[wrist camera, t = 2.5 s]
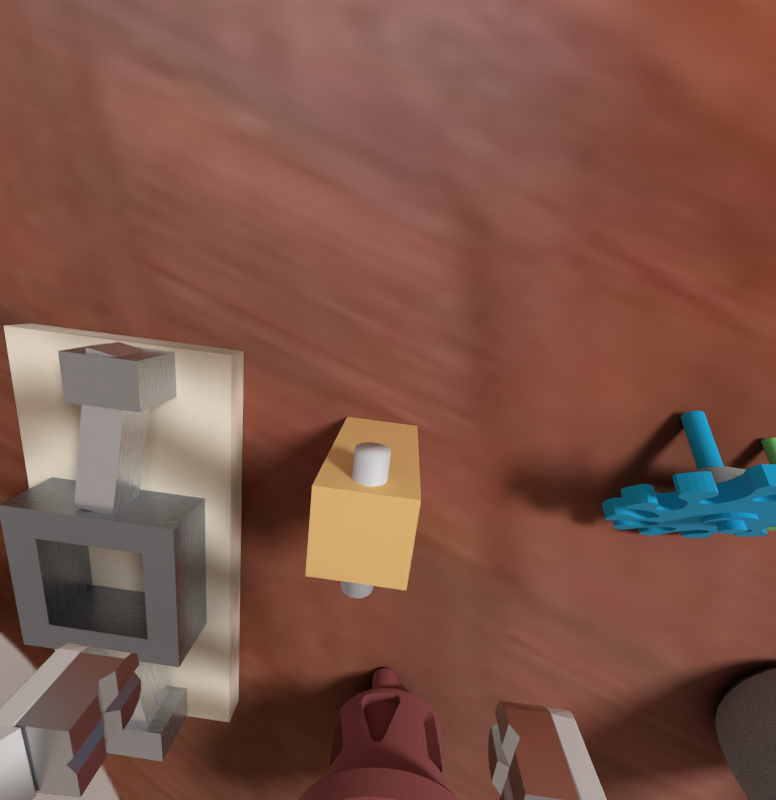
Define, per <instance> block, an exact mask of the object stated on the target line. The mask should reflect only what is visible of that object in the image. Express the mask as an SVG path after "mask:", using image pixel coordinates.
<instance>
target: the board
mask: <svg viewBox="0 0 776 800" xmlns="http://www.w3.org/2000/svg"><path fill="white" fill-rule="evenodd" d="M4 331H5V338H6V344H7V350H8V357H9V363H10V369H11V376H12V382H13V388H14V395H15V401H16V407H17V414H18V420H19V426H20V433H21V439H22V445H23V451H24V458H25V464H26V470H27V477H28V483H29V489H30V488H32V487H34V486H36V485H38V484H40V483H42V482H44V481H46V480H48V479H50V478H52V477H55V478H62V479H69V480H76V474H77V461H78V447H79V434H80V420H81V407H82V405H81V404H73V403H66V402H64V396H63V387H62V379H61V371H60V363H59V354H58V351H60V350H67V349H73V348H79V347H85V346H91V345H97V344H103V343H115V342H121V343H124V344H127V345H130V346H134V347H141V348H149V349H157V350H164V351H172V352H175V368H176V396H177V397H174V398H172V399H170V400H168V401H165V402H163V403H161V404H159V405H156V406H154V407H152V408H151V409H150V416H149V424H148V432H147V440H146V447H145V455H144V463H143V471H142V478H141V486H140V489H141V490H148V491H155V492H162V493H170V494H177V495H184V496H191V497H198V498H205V545H206V611H207V623H206V625H205V626H204V628H203V630H202V631H201V633H200V634H199V636H198V638H197V639H196V641H195V643H194V644H193V646H192V647H191V649H190V651H189V652H188V654H187V656H186V657H185V659H184V660H183V662H182V664H181V665H180V667H173V666H166V665H160V666H161V670H162V673H163V677H164V681H165V684H166V685H168V686H174V687H181V688H187V706H188V714H187V716H191V717H198V718H204V719H211V720H217V721H224V722H230V719H231V717H232V715H233V712H234V710H235V707H236V705H237V703H238V700H239V637H240V571H241V504H242V437H243V371H244V351H239V350H232V349H224V348H216V347H208V346H201V345H193V344H185V343H178V342H170V341H162V340H155V339H147V338H139V337H132V336H124V335H116V334H108V333H101V332H93V331H85V330H78V329H70V328H62V327H55V326H47V325H39V324H32V323H31V324H19V325H6V326H4ZM88 548H89V557H90V565H91V574H92V583H93V585H97V586H104V587H111V588H118V589H125V590H132V591H139V592H145V591H144V577H143V562H142V554H140V553H133V552H126V551H119V550H112V549H105V548H98V547H91V546H88ZM56 650H57V649H55V651H56Z"/></svg>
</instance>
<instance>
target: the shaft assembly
mask: <svg viewBox="0 0 776 800" xmlns="http://www.w3.org/2000/svg"><path fill="white" fill-rule="evenodd" d="M58 354H59V363H60V371H61V379H62V387H63V396H64V402H66V403H73V404H81V405H82V407H81V420H80V434H79V447H78V461H77V474H76V480H69V479H62V478H55V477H52V478H50V479H48V480H46V481H44V482H42V483H40V484H38V485H36V486H34V487H32V488H30V489H28V490H26V491H24V492H22V493H20V494H18V495H16V496H14V497H13V498H11V499H9V500H7V501H5V502H3V503H1V504H0V519H1V524H2V530H3V535H4V540H5V546H6V551H7V556H8V562H9V567H10V573H11V578H12V583H13V589H14V594H15V599H16V605H17V610H18V615H19V621H20V626H21V632H22V637H23V642H24V644H26V645H33V646H39V647H46V648H53V649H59V648H60V647H62V646H64V645H65V644H67V643H72V644H79V645H87V646H93V647H99V648H105V649H112V650H118V651H125V652H131V653H138V660H139V666H138V667H137V668H136V670H135V671H134V672H135V673H136V675H137V676H138V677H139V678H140V679H141V693H140V698H139V701H138V704H137V706H136V708H135V711H134V713H133V716H132V717H131V719H130V721H129V722H128V724H127V725H126V727H125V729H124V730H123V732H121V733H120V734H119V735H117V736H116V737H115V738H113V739H112V740H111V741H109V742H108V744H107V753H112V754H118V755H124V756H131V757H137V758H144V759H150V760H157V761H163V760H164V758H165V756H166V754H167V752H168V750H169V748H170V747H171V745H172V743H173V741H174V739H175V737H176V735H177V733H178V731H179V730H180V728H181V726H182V724H183V722H184V720H185V718H186V716H187V714H188V706H187V688H181V687H174V686H168V685H166V684H165V681H164V677H163V673H162V670H161V666H160V665H166V666H173V667H180V665H181V664H182V662H183V660H184V659H185V657H186V656H187V654H188V652H189V651H190V649H191V647H192V646H193V644H194V643H195V641H196V639H197V638H198V636H199V634H200V633H201V631H202V630H203V628H204V626H205V625H206V623H207V611H206V545H205V498H198V497H191V496H184V495H177V494H170V493H162V492H155V491H148V490H141V489H140V486H141V478H142V471H143V463H144V455H145V447H146V440H147V432H148V424H149V416H150V409H151V408H152V407H154V406H156V405H159V404H161V403H163V402H165V401H168V400H170V399H172V398H174V397H177V396H176V368H175V352H172V351H164V350H157V349H149V348H141V347H134V346H130V345H127V344H124V343H121V342H115V343H103V344H97V345H91V346H85V347H79V348H73V349H67V350H60V351H58ZM88 546H91V547H98V548H105V549H112V550H119V551H126V552H133V553H140V554H142V562H143V577H144V591H145V592H139V591H132V590H125V589H118V588H111V587H104V586H97V585H93V583H92V574H91V565H90V557H89V548H88Z"/></svg>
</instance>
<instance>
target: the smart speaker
mask: <svg viewBox="0 0 776 800" xmlns="http://www.w3.org/2000/svg"><path fill="white" fill-rule="evenodd" d="M715 724H716V731H717V736H718V740H719V743H720V746H721V749H722V751H723V754H724V756H725V758H726V760H727V763H728V765H729V767H730V769H731V771H732V773H733V775H734V776H735V778H736V780H737V782H738V783H739V785H740V787H741V788H742V790H743V791H744V793H745V795H746V796H747V798H748V799H749V800H776V667H770V668H766V669H762V670H758V671H756V672H753V673H751V674H749V675H747V676H745V677H743V678H741V679H740V680H738V681H737V682H736V683H734V684H733V685H732V686H731V687H730V688H729V689H728V690H727V692H726V693H725V694H724V695H723V697H722V699H721V701H720V703H719V705H718V708H717V712H716V719H715Z"/></svg>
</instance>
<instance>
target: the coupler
mask: <svg viewBox="0 0 776 800" xmlns="http://www.w3.org/2000/svg"><path fill="white" fill-rule="evenodd" d="M420 504H421V490H420V471H419V451H418V432H417V426H413V425H405V424H398V423H390V422H383V421H375V420H367V419H360V418H352V417H347V418H346V420H345V422H344V424H343V426H342V428H341V430H340V432H339V434H338V436H337V438H336V440H335V442H334V444H333V446H332V448H331V450H330V451H329V453H328V455H327V457H326V459H325V461H324V463H323V465H322V467H321V469H320V471H319V473H318V475H317V477H316V479H315V481H314V483H313V485H312V494H311V508H310V522H309V535H308V549H307V563H306V576H309V577H316V578H323V579H330V580H337V581H341V589H342V591H343V592H344V593H345V594H346V595H347V596H349V597H352V598H364V597H366V596H368V595H369V594H370V593H371V592H372V590H373V586H379V587H386V588H393V589H400V590H406V589H407V583H408V577H409V571H410V565H411V559H412V553H413V546H414V540H415V534H416V528H417V522H418V516H419V510H420Z"/></svg>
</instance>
